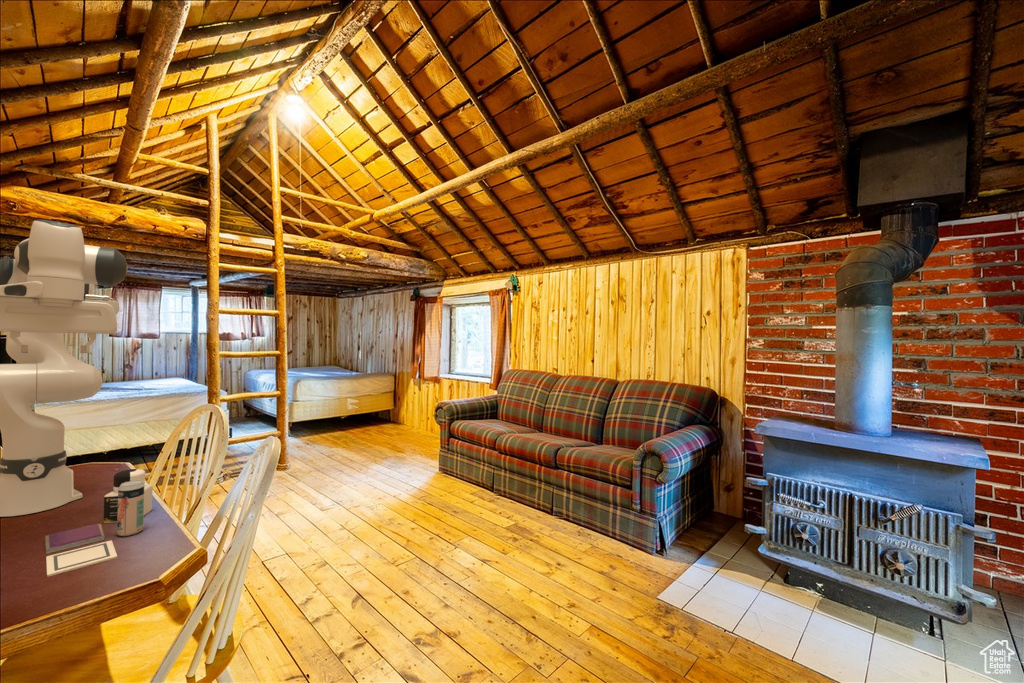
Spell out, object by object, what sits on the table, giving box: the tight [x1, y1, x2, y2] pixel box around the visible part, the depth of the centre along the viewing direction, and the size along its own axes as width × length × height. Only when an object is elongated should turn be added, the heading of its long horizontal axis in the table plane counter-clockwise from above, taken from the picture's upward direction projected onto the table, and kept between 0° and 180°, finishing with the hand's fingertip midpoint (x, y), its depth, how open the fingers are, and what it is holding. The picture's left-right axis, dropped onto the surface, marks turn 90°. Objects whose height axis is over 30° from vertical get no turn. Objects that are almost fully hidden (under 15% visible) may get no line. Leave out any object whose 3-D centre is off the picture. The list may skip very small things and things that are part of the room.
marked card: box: [45, 540, 118, 578], centre depth 89 cm, size 10×10×1 cm
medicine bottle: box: [103, 468, 154, 524], centre depth 109 cm, size 7×7×12 cm
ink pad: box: [45, 523, 105, 555], centre depth 96 cm, size 9×9×1 cm
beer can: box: [116, 480, 145, 537], centre depth 100 cm, size 5×5×12 cm
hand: (54, 353), depth 94 cm, fingers open, 8 cm apart
